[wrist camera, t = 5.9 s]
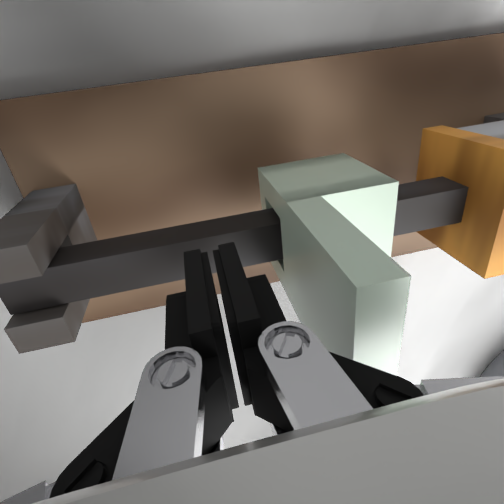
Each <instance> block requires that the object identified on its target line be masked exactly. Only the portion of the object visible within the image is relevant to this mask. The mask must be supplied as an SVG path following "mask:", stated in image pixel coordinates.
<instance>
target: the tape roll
mask: <svg viewBox="0 0 504 504" xmlns="http://www.w3.org/2000/svg"><path fill="white" fill-rule="evenodd" d="M494 376H502V377H504V351H503V352H501V353H500V354H499V355H498V356H497V357H496V358H495V359H494V360H493V361H492V362H491V363H490V364H489V366H488V367H487V368H486V369H485V370H484V372H483V373H482V375H481V376H480V377H494Z"/></svg>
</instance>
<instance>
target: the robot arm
mask: <svg viewBox="0 0 504 504" xmlns="http://www.w3.org/2000/svg"><path fill="white" fill-rule="evenodd" d="M212 251H213V256H214V261H215V266H216V271H217V275H218V280H219V285H220V290H221V295H222V300H223V304H224V309H225V314H226V319H227V324H228V328H229V333H230V338H231V343H232V347H233V352H234V357H235V361H236V366H237V371H238V375H239V380H240V385H241V389H242V394H243V399H244V404H245V406H246V405H250V404H252V405H253V409H254V414H255V416H258V417H260V418H262V419H264V420H266V421H268V422H270V425H271V429H272V432H273V434H274V436H272V437H268V438H264V439H261V440H257V441H253V442H250V443H246V444H242V445H239V446H235V447H231V448H228V449H224V440H223V434H224V433H225V431H226V430H227V428H228V427H229V426H230V424H231V423H232V422H234V419H233V414H232V409H235V408H238V407H239V405H238V400H237V395H236V389H235V384H234V379H233V374H232V369H231V364H230V359H229V353H228V348H227V343H226V338H225V333H224V328H223V323H222V318H221V313H220V308H219V304H218V299H217V294H216V290H215V285H214V281H213V276H212V271H211V267H210V262H209V257H208V253H207V252H202V253H201V250H200V249H196V250H191V251H186V252H184V270H185V286H186V291H184V292H179V293H175V294H170V295H167V297H166V327H165V350H164V351H162V352H159V353H158V354H157V355H155V356H154V357H153V358H151V359H150V361H149V362H148V363H147V364H146V366H145V368H144V370H143V372H142V375H141V379H140V382H139V386H138V389H137V393H136V396H135V400H134V401H133V402H132V403H131V404H130V405H129V406H128V407H127V408H126V409H125V410H124V411H123V412H122V413H121V414H120V415H119V416H118V417H117V418H116V419H115V420H114V421H113V422H112V423H111V424H110V425H109V426H108V427H107V428H105V429H104V430H103V431H102V432H101V433H100V434H99V435H98V436H97V437H96V438H95V439H94V440H93V441H92V442H91V443H90V444H89V445H88V446H87V447H86V448H85V449H84V450H83V451H82V452H81V453H80V454H79V455H78V456H77V457H76V458H75V459H74V460H73V461H72V462H71V463H70V464H69V465H68V466H67V467H66V468H65V470H64V471H63V472H62V473H61V474H60V476H59V477H58V479H57V481H56V482H54V483H52V484H50V485H49V484H48V483H47V482H46V481H44V482H42V483H40V484H37V485H35V486H33V487H31V488H29V489H27V490H25V491H23V492H21V493H19V494H17V495H15V496H12V497H10V498H8V499H6V500H4V501H2V502H0V504H504V377H502V376H494V377H472V378H451V379H429V380H421V384H420V385H414V384H412V383H411V382H409V381H407V380H405V379H403V378H401V377H399V376H396V375H393V374H390V373H387V372H385V371H382V370H379V369H376V368H374V367H371V366H368V365H365V364H362V363H360V362H357V361H354V360H351V359H349V358H346V357H343V356H340V355H337V354H335V353H332V352H329V351H328V350H327V349H326V348H325V346H324V345H323V344H322V342H321V341H320V340H319V339H318V337H317V336H316V335H315V334H314V332H313V331H312V330H311V329H310V328H309V327H307V326H305V325H303V324H301V323H298V322H293V321H286V319H285V317H284V315H283V312H282V310H281V308H280V306H279V303H278V301H277V299H276V297H275V294H274V292H273V290H272V288H271V285H270V283H269V281H268V279H267V276H266V275H265V274H262V275H258V276H253V277H249V278H246V275H245V272H244V269H243V266H242V263H241V261H240V258H239V255H238V252H237V249H236V246H235V243H234V242H230V243H225V244H220V245H218V249H217V250H212Z"/></svg>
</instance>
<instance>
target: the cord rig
mask: <svg viewBox="0 0 504 504" xmlns="http://www.w3.org/2000/svg"><path fill="white" fill-rule="evenodd" d="M0 149H1V151H2V153H3V156H4V158H5V160H6V162H7V164H8V166H9V168H10V170H11V173H12V175H13V177H14V179H15V181H16V183H17V185H18V187H19V190H20V192H21V194H22V196H23V198H24V199H22V200H21V201H20V202H19V203H18V204H17V205H16V206H15V207H14V208H12V209H11V210H10V211H9V212H8V213H7V214H6V215H5V216H4V217H3V218H1V219H0V298H1V299H2V301H3V303H4V304H5V306H6V308H7V309H8V311H9V313H10V314H11V315H13V314H14V315H13V316H12V318H11V319H10V321H9V323H8V324H7V326H6V327H5V329H4V330H5V332H6V333H7V335H8V337H9V338H10V340H11V341H12V343H13V345H14V346H15V348H16V349H17V351H18V352H19V354H20V353H25V352H29V351H34V350H39V349H43V348H48V347H52V346H57V345H61V344H66V343H71V342H75V340H76V337H77V335H78V332H79V329H80V326H81V323H84V322H89V321H94V320H98V319H103V318H108V317H113V316H117V315H122V314H127V313H131V312H136V311H141V310H145V309H150V308H155V307H159V306H164V305H166V297H167V295H170V294H175V293H179V292H184V291H186V286H185V270H184V252H186V251H191V250H196V249H200V250H201V253H202V252H207V253H208V257H209V262H210V267H211V271H212V276H213V281H214V285H215V290H216V294H221V290H220V285H219V280H218V275H217V271H216V266H215V261H214V256H213V251H212V250H217V249H218V245H220V244H225V243H230V242H234V243H235V246H236V249H237V252H238V255H239V258H240V261H241V263H242V266H243V269H244V272H245V275H246V278H249V277H253V276H258V275H262V274H265V275H266V276H267V279H268V281H269V283H272V282H277V281H280V280H279V278H278V276H277V274H276V272H275V270H274V268H273V266H272V264H271V261H276V260H281V259H283V248H282V236H281V223H280V217H279V216H278V215H277V213H276V212H275V210H274V209H273V208H270V209H264V210H262V205H261V196H260V186H259V177H258V168H259V167H264V166H270V165H276V164H282V163H288V162H294V161H300V160H305V159H311V158H317V157H323V156H329V155H335V154H340V153H345V154H347V155H348V156H350V157H352V158H354V159H356V160H358V161H360V162H362V163H364V164H366V165H368V166H370V167H372V168H374V169H376V170H377V171H379V172H381V173H383V174H385V175H387V176H389V177H391V178H393V179H395V180H397V181H399V185H398V195H397V205H396V214H395V224H394V233H393V243H392V252H391V257H394V256H399V255H404V254H408V253H413V252H418V251H422V250H427V249H432V248H437V247H439V248H440V249H442V250H443V251H445V252H446V253H448V254H449V255H451V256H452V257H453V258H455V259H456V260H458V261H459V262H461V263H462V264H464V265H465V266H467V267H468V268H469V269H471V270H472V271H474V272H475V273H477V274H478V275H480V276H481V277H483V278H484V279H485V278H490V277H494V276H499V275H503V274H504V33H496V34H489V35H481V36H474V37H466V38H459V39H452V40H444V41H437V42H429V43H422V44H414V45H407V46H399V47H392V48H385V49H377V50H370V51H362V52H355V53H347V54H340V55H332V56H325V57H317V58H310V59H303V60H295V61H288V62H280V63H273V64H265V65H258V66H250V67H243V68H236V69H228V70H221V71H213V72H206V73H198V74H191V75H183V76H176V77H169V78H161V79H154V80H146V81H139V82H131V83H124V84H116V85H109V86H101V87H94V88H87V89H79V90H72V91H64V92H57V93H49V94H42V95H34V96H27V97H20V98H12V99H5V100H0Z"/></svg>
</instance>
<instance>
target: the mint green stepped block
mask: <svg viewBox="0 0 504 504" xmlns="http://www.w3.org/2000/svg"><path fill="white" fill-rule="evenodd" d="M258 177H259V186H260V196H261V205H262V210H264V209H270V208H273V209H274V210H275V212H276V213H277V215H278V216H279V217H280V223H281V236H282V248H283V259H281V260H276V261H271V264H272V266H273V268H274V270H275V272H276V274H277V276H278V278H279V280H280V282H281V284H282V286H283V288H284V290H285V292H286V294H287V296H288V298H289V300H290V302H291V304H292V306H293V308H294V310H295V312H296V314H297V316H298V318H299V320H300V322H301V324H303V325H305V326H307V327H309V328H310V329H311V330H312V331H313V332H314V334H315V335H316V336H317V337H318V339H319V340H320V341H321V342H322V344H323V345H324V346H325V348H326V349H327V350H328V351H329V352H332V353H335V354H337V355H340V356H343V357H346V358H349V359H351V360H354V361H357V362H360V363H362V364H365V365H368V366H371V367H374V368H376V369H379V370H382V371H385V372H387V373H390V374H393V375H396V376H397V372H398V365H399V358H400V351H401V344H402V337H403V330H404V323H405V316H406V309H407V302H408V295H409V288H410V281H411V275H410V274H409V273H407V272H406V271H405V270H404V269H403V268H402V267H401V266H400V265H398V264H397V263H396V262H395V261H394V260H393V259H392V258H391V252H392V243H393V233H394V224H395V214H396V205H397V195H398V185H399V181H397V180H395V179H393V178H391V177H389V176H387V175H385V174H383V173H381V172H379V171H377V170H376V169H374V168H372V167H370V166H368V165H366V164H364V163H362V162H360V161H358V160H356V159H354V158H352V157H350V156H348V155H347V154H345V153H340V154H335V155H329V156H323V157H317V158H311V159H305V160H300V161H294V162H288V163H282V164H276V165H270V166H264V167H259V168H258Z"/></svg>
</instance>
